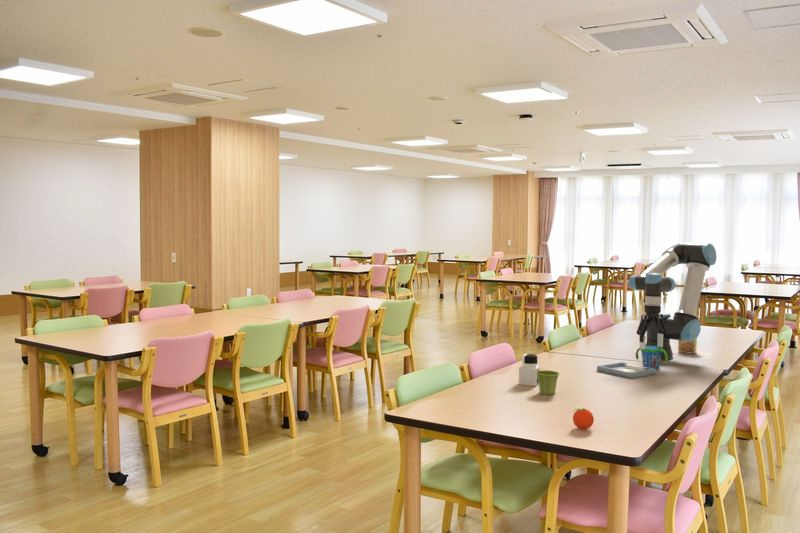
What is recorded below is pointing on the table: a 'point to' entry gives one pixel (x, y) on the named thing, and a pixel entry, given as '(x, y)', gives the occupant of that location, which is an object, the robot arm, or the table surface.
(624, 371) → the meal tray
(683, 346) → the candy box
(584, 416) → the tomato
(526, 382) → the container
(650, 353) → the snack cup
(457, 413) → the table surface
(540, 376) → the plant pot
